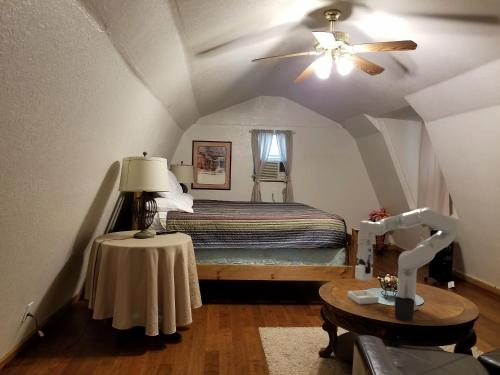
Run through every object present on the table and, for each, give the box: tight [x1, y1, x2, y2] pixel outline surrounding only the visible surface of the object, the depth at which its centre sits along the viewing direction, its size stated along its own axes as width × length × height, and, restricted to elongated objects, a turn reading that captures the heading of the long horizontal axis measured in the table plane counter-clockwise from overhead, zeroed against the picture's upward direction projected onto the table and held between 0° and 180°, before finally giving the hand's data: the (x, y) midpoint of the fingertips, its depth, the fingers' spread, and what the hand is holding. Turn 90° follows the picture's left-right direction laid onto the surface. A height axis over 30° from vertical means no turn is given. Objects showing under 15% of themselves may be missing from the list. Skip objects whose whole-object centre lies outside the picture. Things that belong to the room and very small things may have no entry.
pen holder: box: [394, 296, 415, 322], centre depth 200 cm, size 9×9×10 cm
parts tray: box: [347, 289, 379, 305], centre depth 226 cm, size 13×13×4 cm
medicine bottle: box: [354, 259, 374, 282], centre depth 225 cm, size 7×7×12 cm
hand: (363, 271), depth 226 cm, fingers closed on medicine bottle, 7 cm apart
